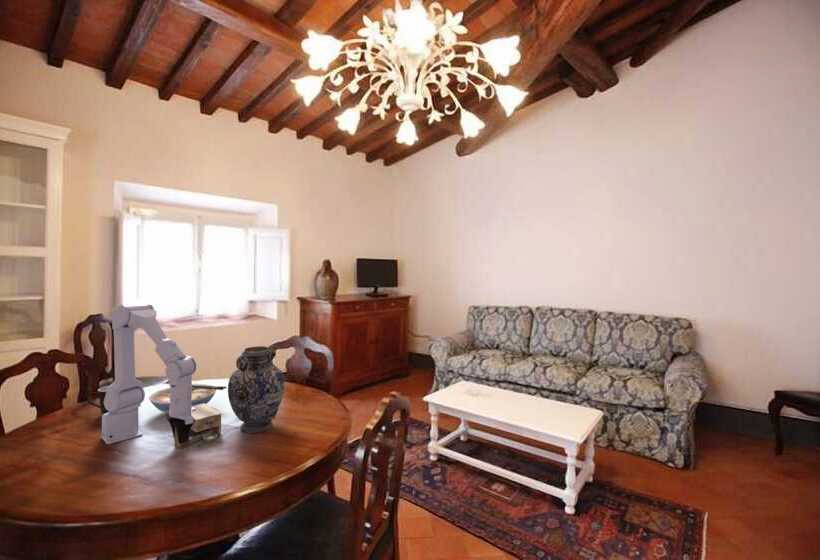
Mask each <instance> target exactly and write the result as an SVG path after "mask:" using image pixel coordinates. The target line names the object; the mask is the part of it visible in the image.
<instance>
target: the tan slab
mask: <svg viewBox="0 0 820 560" xmlns="http://www.w3.org/2000/svg"><path fill="white" fill-rule="evenodd" d="M192 407H194V408H196V411H193V412H192V416H193V418H194V419H195V422H194V424H193V425H192V427H191V430H192V431H193V432H194V433H198V432H201V431H202V432H203V431H206V430H210V429H212V428H214V429H215V433H217V435H221V434H222V412H220V411H218V410H217V409H215V408H213V407H212V406H210V405H208V403H207V404H205V403H204V404H199V405H195V406H192Z"/></svg>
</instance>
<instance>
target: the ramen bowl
mask: <svg viewBox="0 0 820 560" xmlns="http://www.w3.org/2000/svg"><path fill="white" fill-rule="evenodd" d="M225 389H227V386H215V385H212V384H211V385H210V384H205V383H203V384H202V383H197V384H196V383H195V384H194V383H192V406H195V405H199V404H204V403H205V404H207V405H208V403H210V401H211V400H212V399H213V398H214V396H215V395H216V392H217V390H218V391H224V390H225ZM148 400H149V402H150V403H151V404H152V405H153V406H154V407H155V408H156V409H157V410H158V411H160V412H163V413H166V414H169V406H170V386H169V387H166V388H163V389H159V390H157V391H155V392H153V393H151V394H150V395H149V396H148Z"/></svg>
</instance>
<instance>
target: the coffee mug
mask: <svg viewBox="0 0 820 560" xmlns="http://www.w3.org/2000/svg"><path fill="white" fill-rule="evenodd" d="M109 386H110V385H106V386H102V387H100V388H98V389H97V392H90V393H88V394H87V395H86V401H87V402H88V403H89V404H90V405H92V406H94V407H96V408H99V409H100V413H101V416H102V415H103V414H105V413H108V412H109V411H108V410H107V409H106V408H105V406H104V398H105V396H106V389H107V388H108V387H109ZM92 395H96V396H97V397H98V399H99V404H95V403H94V402H92V401H91V400H90V399H89V397H90V396H92Z"/></svg>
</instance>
